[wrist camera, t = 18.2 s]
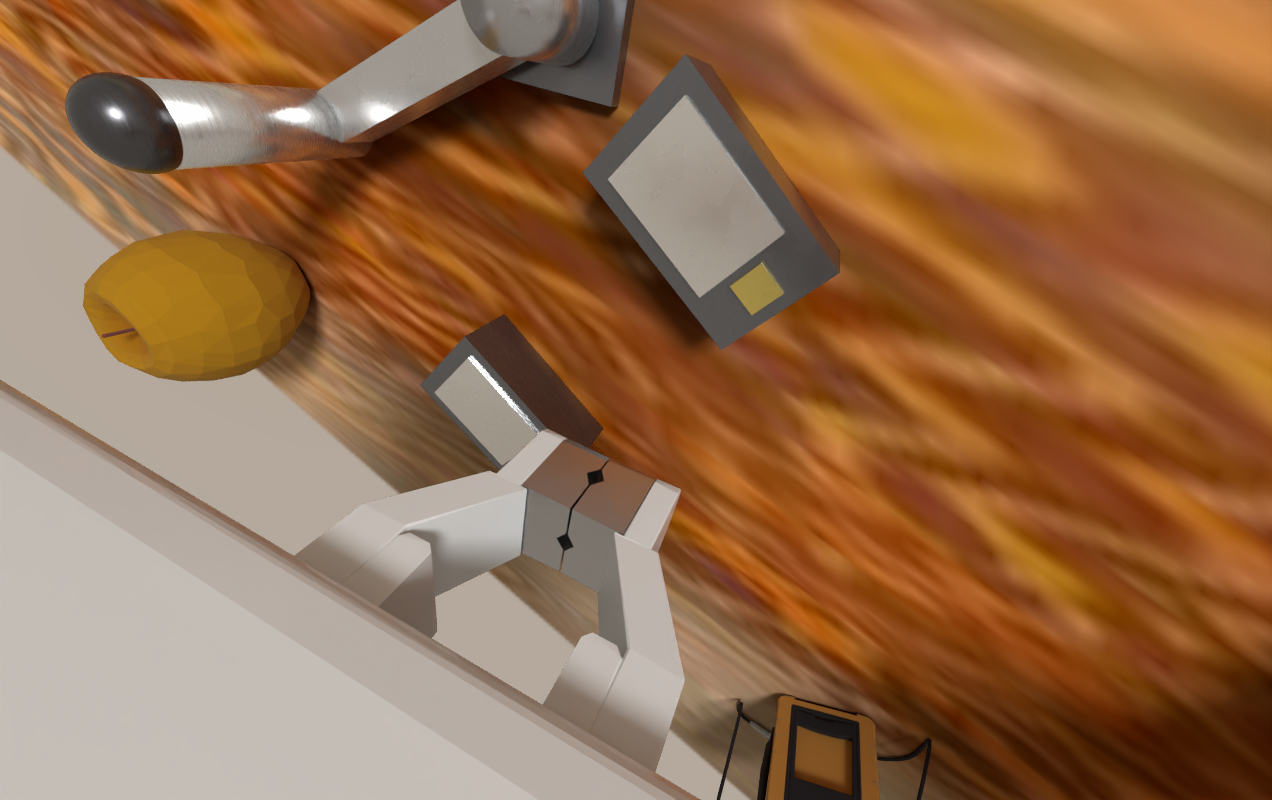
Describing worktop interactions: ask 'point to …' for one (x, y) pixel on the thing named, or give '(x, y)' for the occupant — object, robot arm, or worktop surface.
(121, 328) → the apple
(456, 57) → the grey crank handle
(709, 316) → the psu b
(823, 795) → the multimeter
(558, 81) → the arm mount
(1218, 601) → the worktop surface
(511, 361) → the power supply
